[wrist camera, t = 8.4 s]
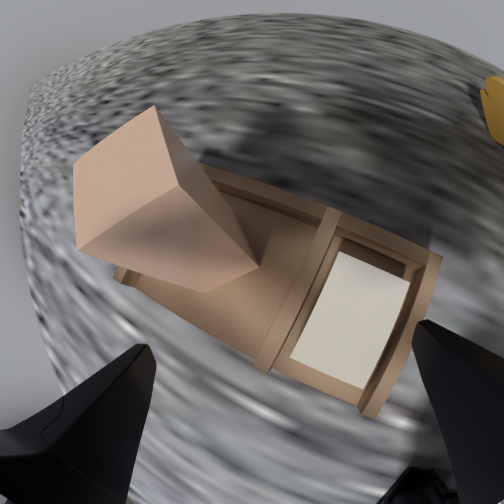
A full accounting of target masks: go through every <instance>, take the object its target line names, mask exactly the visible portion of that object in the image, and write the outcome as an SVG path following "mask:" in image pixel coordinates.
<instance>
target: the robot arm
mask: <svg viewBox="0 0 504 504" xmlns="http://www.w3.org/2000/svg"><path fill="white" fill-rule="evenodd" d="M411 345H412V349H413V352H414V355H415V358H416V361H417V365H418V368H419V371H420V375H421V378H422V381H423V384H424V386H425V389H426V391H427V394H428V396H429V399H430V402H431V404H432V407H433V410H434V412H435V415H436V418H437V421H438V424H439V426H440V429H441V432H442V435H443V439H444V442H445V445H446V448H447V452H448V455H449V458H450V462H451V466H452V469H453V473H454V474H453V473H452V472H451V471H447V470H441V469H434V468H432V469H429V470H426V469H420V468H415V467H411V468H408V469H407V470H406V471H405V472H404V474H403V475H402V476H401V478H400V479H399V480H398V481H397V483H396V484H395V485H394V486H393V487H392V489H391V490H390V491H389V492H388V493H387V494H386V496H385V497H384V498H383V499H382V500H381V501H380V502H379V503H378V504H497V503H499V502H501V504H504V359H503V358H502V357H500V356H498V355H496V354H494V353H492V352H491V351H489V350H487V349H485V348H483V347H481V346H479V345H477V344H475V343H473V342H471V341H469V340H468V339H466V338H464V337H462V336H460V335H458V334H456V333H454V332H452V331H450V330H448V329H446V328H444V327H442V326H440V325H438V324H436V323H434V322H432V321H430V320H428V319H426V320H421V321H418V322H417V323H416V326H415V329H414V333H413V337H412V341H411ZM155 373H156V361H155V358H154V356H153V354H152V351H151V349H150V347H149V345H147V344H136V345H134V346H133V347H131V348H130V349H129V350H127V351H126V352H124V353H123V354H122V355H120V356H119V357H117V358H116V359H115V360H113V361H112V362H110V363H109V364H108V365H106V366H105V367H103V368H102V369H101V370H99V371H98V372H96V373H95V374H94V375H92V376H91V377H89V378H88V379H87V380H85V381H84V382H82V383H81V384H79V385H78V386H77V387H75V388H74V389H72V390H71V391H70V392H68V393H67V394H65V396H62V397H61V398H60V399H58V400H57V401H55V402H54V403H52V404H51V405H49V406H48V407H46V408H45V409H43V410H41V411H40V412H38V413H36V414H35V415H33V416H31V417H29V418H28V419H26V420H24V421H22V422H21V423H19V424H17V425H15V426H14V427H11V428H9V429H4V430H0V504H126V503H125V502H126V500H127V495H128V490H129V486H130V481H131V477H132V472H133V468H134V464H135V460H136V456H137V452H138V448H139V444H140V440H141V436H142V432H143V429H144V425H145V421H146V418H147V414H148V410H149V406H150V402H151V396H152V390H153V384H154V378H155ZM410 472H412V473H411V474H409V473H410Z"/></svg>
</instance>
